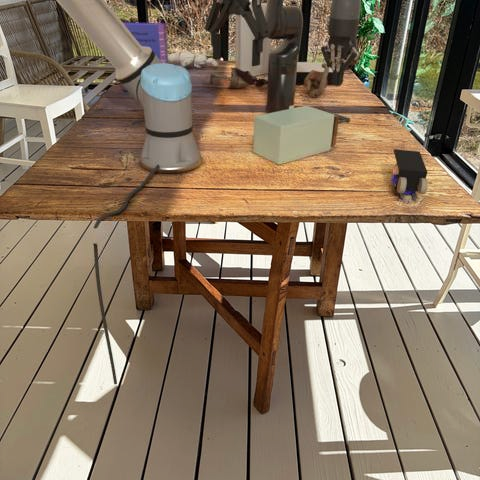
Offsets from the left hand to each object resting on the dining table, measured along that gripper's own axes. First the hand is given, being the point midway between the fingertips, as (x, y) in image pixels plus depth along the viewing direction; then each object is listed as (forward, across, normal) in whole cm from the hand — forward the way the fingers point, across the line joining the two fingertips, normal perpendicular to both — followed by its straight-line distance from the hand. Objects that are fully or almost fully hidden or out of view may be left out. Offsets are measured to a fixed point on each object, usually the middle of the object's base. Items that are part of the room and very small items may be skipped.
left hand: (235, 62), depth 131 cm
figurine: (+21, +32, -49) cm, 62 cm away
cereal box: (+21, +60, -21) cm, 67 cm away
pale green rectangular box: (+21, -20, 0) cm, 29 cm away
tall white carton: (+21, +48, -75) cm, 91 cm away
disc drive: (+21, +21, -81) cm, 86 cm away
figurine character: (+21, -54, +5) cm, 58 cm away
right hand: (+5, -24, -14) cm, 28 cm away
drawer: (+20, -22, -6) cm, 30 cm away
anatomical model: (+21, +7, -59) cm, 63 cm away
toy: (+21, +78, -62) cm, 102 cm away
